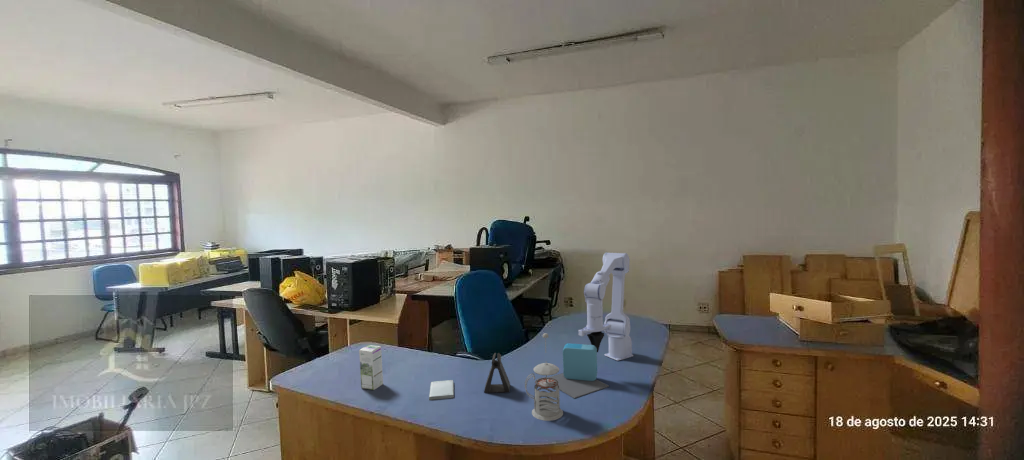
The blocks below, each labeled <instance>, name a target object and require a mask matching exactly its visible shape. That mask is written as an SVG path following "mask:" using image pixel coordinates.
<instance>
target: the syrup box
mask: <svg viewBox="0 0 1024 460" xmlns="http://www.w3.org/2000/svg"><path fill="white" fill-rule="evenodd" d="M358 352H359V353H358V354H359V371H360V388H361V389H362V390H363V389H364V390H372V391H375V390H377V389H379V387H381V386H383V384H384V375H383V357H382V355H383V354H382V345H381V346H380V345H365V346H364V347H362V348H361V349H359V350H358Z"/></svg>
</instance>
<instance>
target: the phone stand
mask: <svg viewBox="0 0 1024 460" xmlns="http://www.w3.org/2000/svg"><path fill="white" fill-rule="evenodd" d="M496 355H497V356H496ZM495 369H497V370H498V373H499V377H500V381H501V383H498V384H497V383H496V384H495V383H492V381H493V376H494V373H495ZM510 390H511V382H510V380H509V378H508V375H507V372H506V369H505V367H504V365H503V362H502V354H501V353H500V352H498V353H496V352H494V354H493V355H492V359H491V367H490V370H489V372H488V375H487V379H486V382H485V385H484V390H483V394H495V393H499V394H500V393H501V394H503V393H504V394H506V393H511V391H510Z"/></svg>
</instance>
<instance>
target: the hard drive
mask: <svg viewBox="0 0 1024 460" xmlns="http://www.w3.org/2000/svg"><path fill="white" fill-rule="evenodd" d="M429 386H430V387H429V395H428V401H433V400H435V401H436V400H443V399H454V380H453V379H450V380H448V379H446V380H437V381H431V382H430V385H429Z"/></svg>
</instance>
